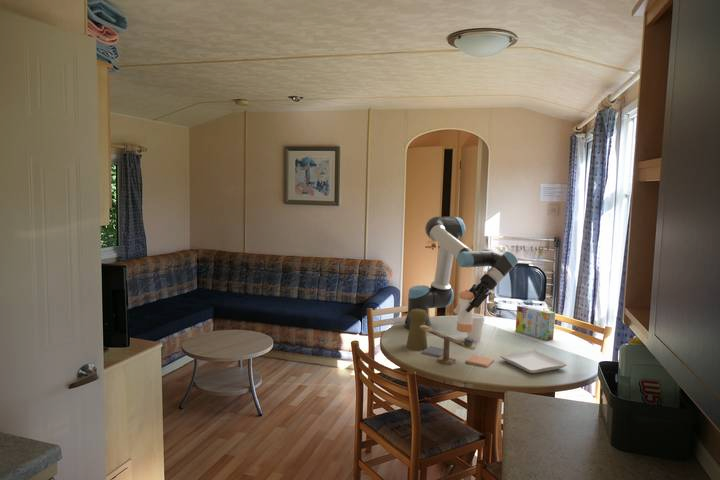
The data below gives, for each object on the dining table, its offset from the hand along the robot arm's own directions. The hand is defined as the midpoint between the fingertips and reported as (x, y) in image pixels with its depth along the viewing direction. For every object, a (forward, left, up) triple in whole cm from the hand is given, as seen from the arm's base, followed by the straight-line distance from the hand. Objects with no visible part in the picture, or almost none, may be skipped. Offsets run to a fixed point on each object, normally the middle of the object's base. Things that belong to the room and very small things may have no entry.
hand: (458, 314), depth 229 cm
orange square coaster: (+11, +1, -21) cm, 24 cm away
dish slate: (-11, +1, -21) cm, 24 cm away
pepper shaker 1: (-22, +3, -21) cm, 31 cm away
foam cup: (-3, +33, -21) cm, 39 cm away
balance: (-2, -8, -21) cm, 22 cm away
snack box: (+21, +62, -21) cm, 69 cm away
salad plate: (+32, +11, -21) cm, 40 cm away
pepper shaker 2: (+2, +3, -8) cm, 9 cm away
